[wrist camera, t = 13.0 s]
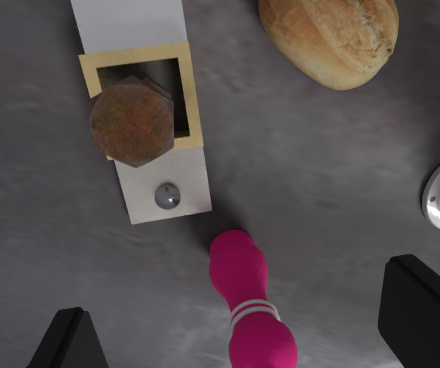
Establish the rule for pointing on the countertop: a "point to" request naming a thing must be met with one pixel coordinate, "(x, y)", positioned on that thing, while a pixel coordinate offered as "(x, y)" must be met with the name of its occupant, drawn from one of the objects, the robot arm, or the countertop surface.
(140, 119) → the bolt
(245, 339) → the pepper mill
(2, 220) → the countertop surface
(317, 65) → the bread roll
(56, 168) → the countertop surface
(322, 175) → the countertop surface
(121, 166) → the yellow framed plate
